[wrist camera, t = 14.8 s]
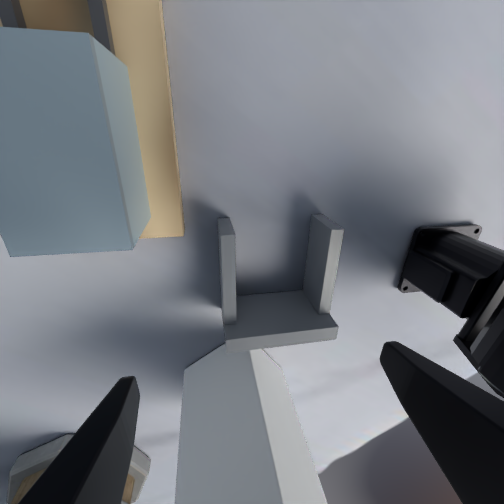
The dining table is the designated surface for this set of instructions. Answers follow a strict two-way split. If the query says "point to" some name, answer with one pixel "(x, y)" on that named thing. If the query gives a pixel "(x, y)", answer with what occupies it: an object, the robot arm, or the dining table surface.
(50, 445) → the tankard
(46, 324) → the dining table surface
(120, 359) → the dining table surface
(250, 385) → the milk carton
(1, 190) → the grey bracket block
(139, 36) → the board
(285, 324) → the bay
